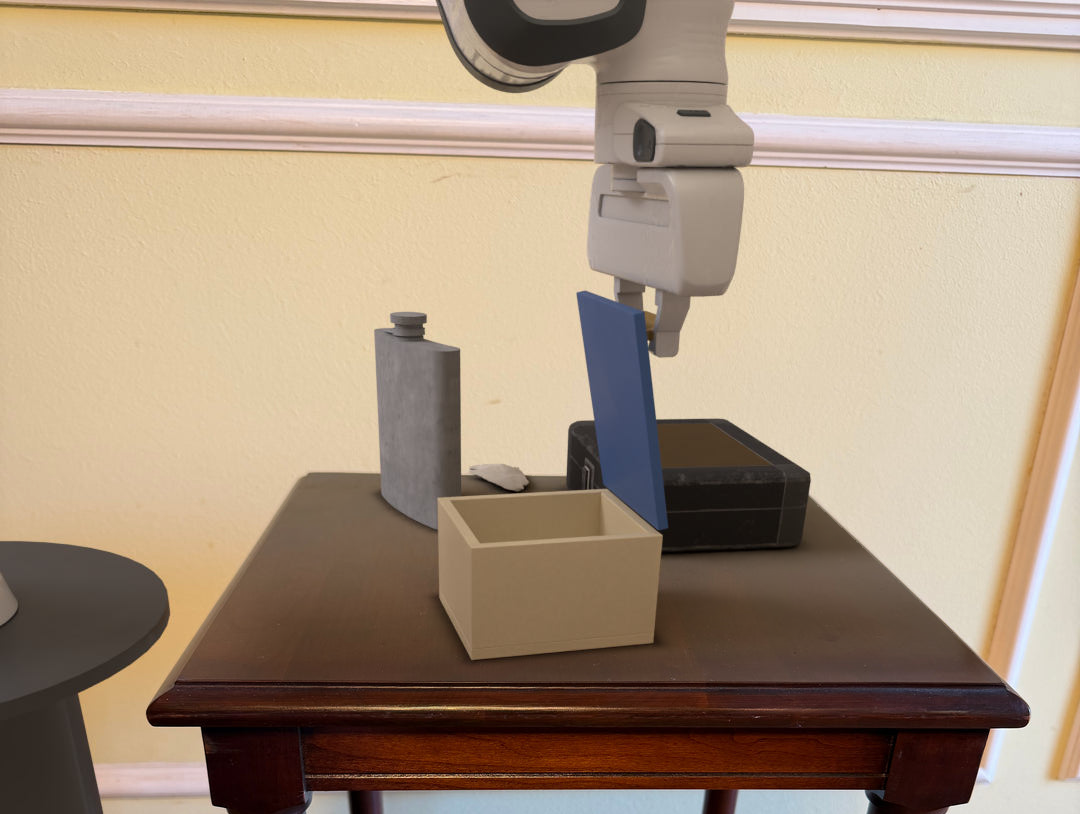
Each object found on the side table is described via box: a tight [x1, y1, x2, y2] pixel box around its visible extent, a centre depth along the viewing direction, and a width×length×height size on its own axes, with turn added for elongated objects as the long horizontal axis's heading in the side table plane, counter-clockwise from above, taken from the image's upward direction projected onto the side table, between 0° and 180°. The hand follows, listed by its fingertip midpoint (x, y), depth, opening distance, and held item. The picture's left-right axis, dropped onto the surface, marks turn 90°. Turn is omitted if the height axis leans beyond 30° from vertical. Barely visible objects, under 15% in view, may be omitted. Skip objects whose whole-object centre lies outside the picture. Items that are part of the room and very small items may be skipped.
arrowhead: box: [467, 463, 530, 493], centre depth 121 cm, size 7×2×10 cm
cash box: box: [565, 418, 812, 554], centre depth 109 cm, size 25×20×8 cm
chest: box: [437, 489, 663, 661], centre depth 83 cm, size 15×13×9 cm
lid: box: [575, 290, 668, 530], centre depth 78 cm, size 16×13×5 cm
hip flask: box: [373, 311, 462, 531], centre depth 106 cm, size 16×4×20 cm, turn 31°
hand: (647, 349), depth 76 cm, fingers closed on lid, 5 cm apart
